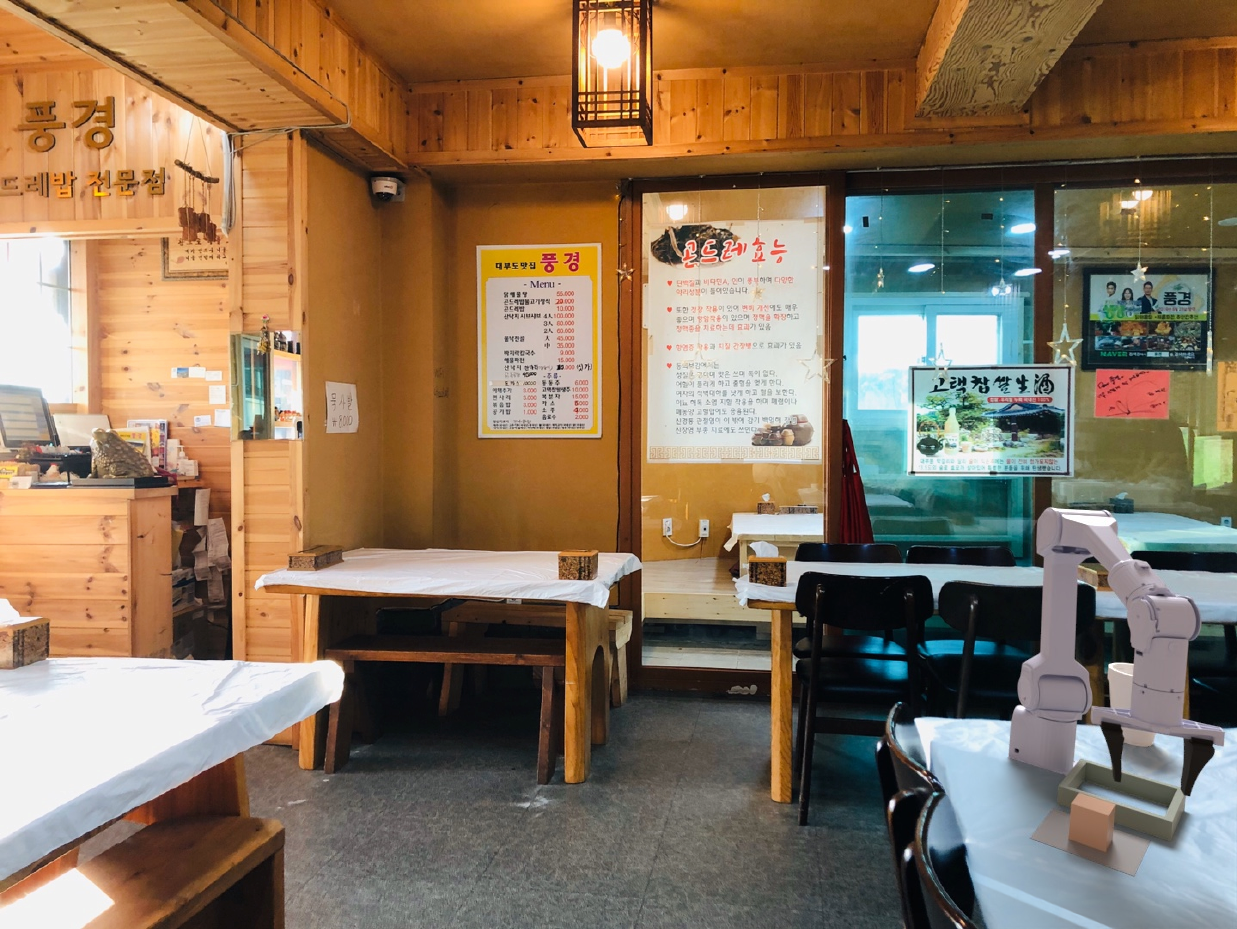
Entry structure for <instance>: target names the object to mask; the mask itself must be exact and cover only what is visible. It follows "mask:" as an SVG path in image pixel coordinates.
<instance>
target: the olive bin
mask: <svg viewBox="0 0 1237 929" xmlns="http://www.w3.org/2000/svg"><path fill="white" fill-rule="evenodd" d="M1083 782H1086V783H1090V784H1091V785H1092V784H1093V785H1096V786H1099V787H1103V788H1106V789H1108V790H1113V791H1115V792H1119V793H1122V794H1126V795H1129V796H1131V797H1132V796H1133V797H1135V798H1138V799H1142V800H1145V801H1148V802H1151V803H1154V804H1157V805H1161V806H1165V807H1168V808H1167V811H1166V813H1165V815H1160V814H1157V813H1154V812H1151V811H1147V810H1144V809H1142V808H1137V807H1135V806H1132V805H1128V804H1126V803H1122V802H1119V801H1117V800H1116V801H1115V800H1113V799H1109V798H1107V797H1103V796H1100V795H1097V794H1095V793H1094V794H1093V793H1090V792H1088V791H1084V790H1081V789H1079V787H1080V786H1081V785H1082V783H1083ZM1079 793H1081V794H1085V795H1088V796H1091V797H1094V798H1097V799H1100V800H1103V801H1107V802H1110V803H1113V804H1116V807H1115V818H1114V824H1117V825H1120V826H1122V827H1125V828H1129V829H1132V830H1136V831H1138V832H1140V833H1144V834H1147V835H1150V836H1153V837H1156V838H1159V839H1161V840H1165V841H1169V842H1171V841H1172V839H1173V837H1174V834H1175V832H1176V829H1177V827H1178V824H1179V823H1180V820H1181V818H1182V815H1183V813H1184V812H1185V808H1186V799H1187V796H1185V795H1184V794H1183V793H1182V791H1181V786H1177V785H1173V784H1170V783H1166V782H1163V781H1160V780H1157V779H1153V778H1149V777H1146V776H1143V775H1139V774H1135V773H1132V772H1130V771H1125V770H1122V777H1121V783H1120V782H1115V781H1114V778H1113V771H1112V766H1109V765H1105V764H1102V763H1098V762H1094V761H1091V760H1087V759H1084V758H1080V759H1079V760H1078V761H1077V764H1076V765H1075V766H1074V767H1073V768H1072V770H1071V771H1070V772H1069V773H1068V775H1067V776H1066V775H1065V777H1064V779H1062V781H1060V783H1059V784H1058V786H1057V795H1056V796H1057V797H1056V798H1057V799H1056V804H1057V805H1059V806H1063V807H1066V808H1069V809H1071V803H1072V802H1073V800H1074V799H1075V798H1076V796H1077V795H1078V794H1079Z"/></svg>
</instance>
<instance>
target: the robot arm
mask: <svg viewBox="0 0 1237 929" xmlns="http://www.w3.org/2000/svg"><path fill="white" fill-rule="evenodd" d="M1118 528H1119V526H1118V521H1117V520H1116V519H1115V517H1114V515H1113V514H1112V513H1111V512H1110V511H1109V510H1105V509H1101V510H1091V509H1089V510H1085V509H1070V508H1069V509H1068V508H1067V509H1065V508H1055V507H1047V508H1046V509H1044V510H1043V512H1042V513H1041V515H1040V516H1039V517H1038V519H1037V524H1036V554H1037V555H1040V556H1042V557H1043V575H1042V576H1043V581H1042V602H1041V603H1042V604H1041V627H1040V628H1041V632H1040V633H1041V634H1040V650H1039V651H1040V652H1039V653H1038V654H1036V655H1034V656H1032V657H1031V658H1029V659H1028V660H1025V661H1024V662H1022V664H1021V672H1020V675H1019V676H1020V677H1019V679H1018V682H1017V695H1018V699H1019V702H1020V703H1021V704H1018V705H1016V706H1015V708H1014V710H1013V713H1012V716H1011V717H1012V718H1011V721H1010V722H1011V723H1010V733H1009V742H1008V743H1009V744H1008V756H1007V758H1009V759H1012V760H1015V761H1018V762H1021V763H1023V764H1024V763H1025V764H1028V765H1031V766H1034V767H1038V768H1041V769H1043V770H1048V771H1050V772H1054V773H1057V774H1060V775H1062V776H1063V775H1064V776H1065V777H1066V776H1067V775H1068V773H1069V772H1070V771H1071V770H1072V768H1073V767H1074V766H1075V765H1076V764H1077V762H1078V761H1077V760H1075V749H1076V741H1077V740H1076V736H1077V727H1078V726H1077V725H1078V724H1077V723H1078V720H1079V721H1082V720H1083V715H1086V714H1087V713H1088V712H1089V710H1090V709H1091V710H1090V721H1091V723H1092V724H1094V725H1097V726H1098V725H1099V727H1100V730H1101V733H1102V735H1103V736H1104V740H1105V744H1106V746H1107V749H1108V754H1109V757H1110V761H1111V762H1110V763H1111V767H1112V771H1113V778H1114V781H1115V782H1120V783H1121V777H1122V759H1123V758H1122V757H1123V750H1124V745H1125V743H1124V739H1125V738H1124V736H1123V730H1122V728H1121V727H1123V728H1129V729H1135V730H1141V731H1146V732H1152V733H1156V734H1158V735H1164V736H1170V737H1176V738H1183V764H1182V770H1181V778H1180V787H1181V791H1182V793H1183V794H1184V795H1185V796H1186V797H1191V795H1192V792H1193V788H1194V785H1195V783H1196V781H1197V779H1198V778H1199V775H1200V774H1201V772H1202V771H1203V769H1204V768H1205V766H1206V765H1207V764H1208V763H1209V762H1210V760H1212V758H1214V755H1215V753H1216V748H1215V747H1214V746H1218V747H1224V746H1225V734H1226V733H1225V731H1224V729H1223V727H1220V726H1215V725H1211V724H1206V723H1201V722H1197V721H1193V720H1189V719H1185V718H1184V717H1183V715H1184V703H1185V690H1186V677H1187V664H1188V663H1187V662H1188V652H1189V642H1191V641H1194V640H1196V638H1198V636H1199V635H1200V632H1201V630H1202V615H1201V611H1200V609H1199V607H1198V605H1197V604H1196V602H1195V601H1194V599H1193V598H1192V597H1190V596H1188V595H1187V596H1186V595H1181V594H1179V593H1174V592H1172V591H1171V589H1170V588H1169V587H1168V586H1167V585H1166V584H1165V583H1164V582H1163V580H1162V579H1161V578H1160V577H1159V576H1158V574H1157V573H1156V572H1155V571H1154V570H1153V569H1152V567H1151V565H1150V564H1149V563H1148V562H1147V561H1144V560H1140V559H1133V557H1132V556H1131V554H1130V552H1128V550H1127V548H1126V547H1125V546H1124V544H1123V542H1122V541H1121V539H1120V538H1119V537H1118V533H1119V530H1118ZM1092 557H1094V558H1095V559H1096V560H1097V561H1098V562H1099V563H1100V564H1101V565H1102V566H1103V568H1105V569H1106V570H1107V571H1108V575H1107V584H1108V586H1109V588H1110V589H1111V590H1112V591H1113V592H1114V595H1116V597H1118V599H1119V600H1120V602H1121V603H1122V604H1123V605H1124V607H1125V608H1126V619H1127V620H1126V621H1127V625H1128V627H1129V631H1130V640H1129V641H1130V643H1131V647H1132V648H1134V656H1133V658H1134V659H1133V664H1134V667H1133V681H1132V694H1131V707H1130V709H1118V708H1111V707H1104V706H1096V705H1092V703H1093V692H1092V688H1091V684H1090V672H1089V671H1088V670H1087V669H1086V667H1085V666H1083V665H1082V664H1081V663H1079V662H1078V661H1077V660H1076V659H1075V657H1076V656H1075V654H1076V651H1075V650H1076V631H1077V630H1076V628H1077V626H1076V624H1077V603H1078V602H1077V601H1078V599H1077V598H1078V578H1079V577H1078V573H1079V565H1080V564H1082V563H1083V562H1084V561H1085V560H1086V559H1088V558H1092Z"/></svg>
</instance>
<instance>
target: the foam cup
mask: <svg viewBox="0 0 1237 929" xmlns="http://www.w3.org/2000/svg"><path fill="white" fill-rule="evenodd" d="M1133 667H1134V663H1129V662H1113V663H1109V664H1108V670H1107V680H1108V684H1109V685H1108V686H1109V687H1108V688H1109V700H1110V708H1118V709H1130V707H1131V694H1132V681H1133ZM1121 728H1122V730H1123V736H1124V738H1125V739H1124V744H1127V745H1131V746H1134V747H1136V746H1137V747H1143V748H1144V747H1148V746H1149V747H1151V745H1152V746H1153V745H1154V741H1155V738H1156V734H1157V733H1152V732H1146V731H1141V730H1135V729H1129V728H1123V727H1121Z"/></svg>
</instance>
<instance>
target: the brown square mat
mask: <svg viewBox="0 0 1237 929" xmlns="http://www.w3.org/2000/svg"><path fill="white" fill-rule="evenodd" d="M1070 813H1071V812H1070ZM1070 813H1069V812H1067V811H1064V810H1061V809H1057V808H1055V807H1053V808H1052V809H1051V810H1050V811H1049V813H1048V814H1047V816H1046V817H1045V818H1044V819H1043V821H1042V822H1041V823H1040V824H1039V825H1038V827H1037V828H1036V830H1035V831H1034V832H1033V833H1032V835H1031V836H1030V837H1029V839H1031V840H1033V841H1037V842H1039V843H1042V844H1044V845H1047V846H1050V847H1053V848H1055V849H1057V850H1061V851H1063V852H1066V853H1069V854H1072V855H1074V856H1077V857H1079V858H1083V859H1085V860H1088V861H1091V862H1093V863H1095V864H1096V863H1097V864H1099V865H1102V866H1104V867H1107V868H1109V869H1112V870H1115V871H1117V872H1118V871H1119V872H1121V873H1123V874H1127V875H1129V876H1131V877H1135V875H1136V873H1137V871H1138V869H1139V867H1140V865H1141V863H1142V861H1143V858H1144V856H1145V854H1146V852H1147V850H1148V847H1149V845H1150V843H1151V840H1150V839H1146V838H1144V837H1141V836H1137V835H1135V834H1132V833H1130V832H1126V831H1123V830H1119V829H1116V828H1114V830H1113V840H1112V842H1111V844H1110V845H1109V847H1108V849H1107V851H1106V852H1104V851H1101V850H1098V849H1096V848H1093V847H1090V846H1087V845H1084V844H1082V843H1079V842H1076V841H1073V840H1070V839H1068V837H1069V825H1070Z"/></svg>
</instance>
